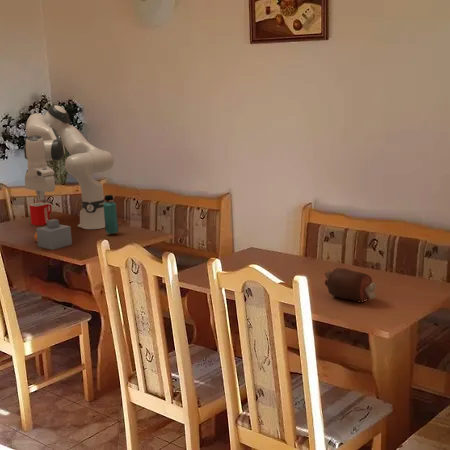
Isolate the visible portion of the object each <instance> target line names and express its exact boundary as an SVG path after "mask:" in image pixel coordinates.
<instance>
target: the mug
mask: <svg viewBox="0 0 450 450" xmlns="http://www.w3.org/2000/svg"><path fill="white" fill-rule="evenodd" d="M28 207H29V212H30V221H31V225H32V224H33V226H39V225H41V226H43V225H44V226H46V225H47V220H51V219H50V214H51V213H52V211H53V210H52V204H49V203H48V202H36V203H35V202H34V203H31V204H29V206H28ZM39 227H40V226H39Z"/></svg>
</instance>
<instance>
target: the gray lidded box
mask: <svg viewBox="0 0 450 450" xmlns="http://www.w3.org/2000/svg"><path fill="white" fill-rule="evenodd" d="M59 220H60V219H56V218H51V219H50V220H47V224H46V225H44V226H41V227H40V226H39V227H37V228H36V233H37V239H38V244H37V247H38V248H44V249H48V250H51V251H52V250H53V251H54V250H58V249H61V248H65V247H67V246H71V245H73V240H72V227H71V226H70V225H66V224H65V225H64V224H60V221H59Z"/></svg>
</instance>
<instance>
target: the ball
mask: <svg viewBox="0 0 450 450" xmlns="http://www.w3.org/2000/svg"><path fill="white" fill-rule="evenodd" d="M33 238H34V240H35V241H36V242H38V239H37V232H35V234H34V236H33Z"/></svg>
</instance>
